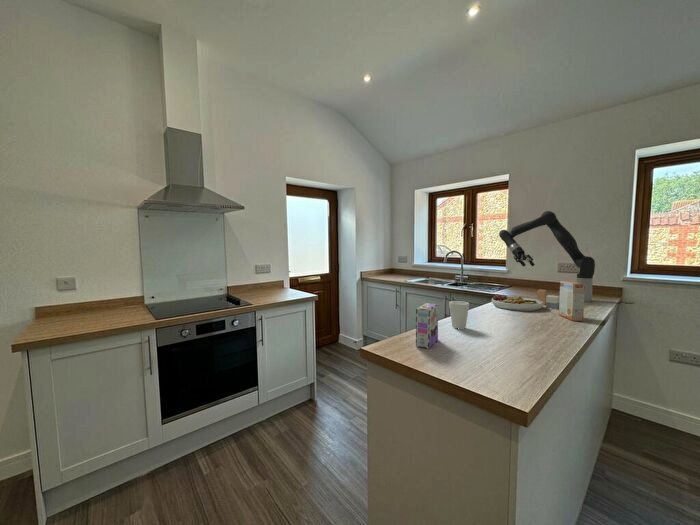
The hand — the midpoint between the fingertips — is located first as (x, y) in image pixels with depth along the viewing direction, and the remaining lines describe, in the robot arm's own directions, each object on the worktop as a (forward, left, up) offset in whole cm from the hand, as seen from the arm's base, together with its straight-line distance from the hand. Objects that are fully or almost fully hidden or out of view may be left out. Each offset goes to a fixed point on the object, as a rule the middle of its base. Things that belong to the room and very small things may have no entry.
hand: (529, 265), depth 213 cm
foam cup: (+102, +1, -27) cm, 106 cm away
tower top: (+13, +19, -23) cm, 32 cm away
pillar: (+4, +10, -27) cm, 29 cm away
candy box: (+134, +4, -27) cm, 137 cm away
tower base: (+13, +19, -27) cm, 35 cm away
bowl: (+27, +1, -27) cm, 39 cm away
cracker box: (+38, +34, -27) cm, 58 cm away
